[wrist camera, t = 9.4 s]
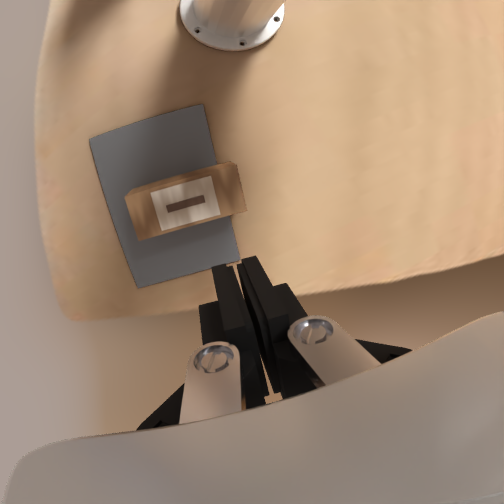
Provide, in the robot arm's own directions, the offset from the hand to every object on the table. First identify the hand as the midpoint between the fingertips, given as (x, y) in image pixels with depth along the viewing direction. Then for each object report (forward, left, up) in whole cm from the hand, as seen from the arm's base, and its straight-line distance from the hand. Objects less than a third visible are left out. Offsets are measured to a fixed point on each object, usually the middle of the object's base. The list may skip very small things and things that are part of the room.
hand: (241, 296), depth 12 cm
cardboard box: (+1, +4, -24) cm, 25 cm away
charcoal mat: (+1, -5, -27) cm, 28 cm away
